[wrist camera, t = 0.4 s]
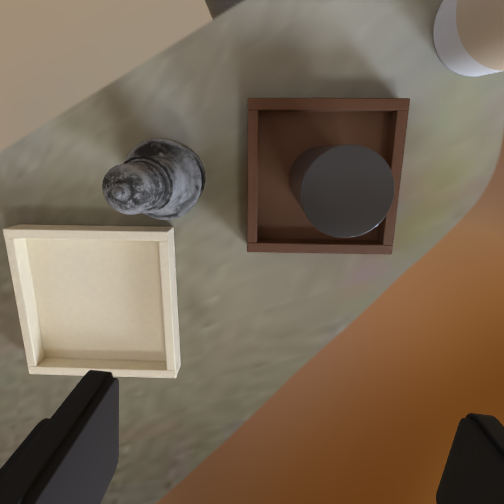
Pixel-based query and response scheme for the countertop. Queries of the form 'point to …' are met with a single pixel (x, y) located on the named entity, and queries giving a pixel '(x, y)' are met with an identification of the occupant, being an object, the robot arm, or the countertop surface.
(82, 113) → the countertop surface
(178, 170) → the marbled chess pawn
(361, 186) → the dark gray cylinder
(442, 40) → the coffee cup
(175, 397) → the countertop surface
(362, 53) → the countertop surface
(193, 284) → the countertop surface
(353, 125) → the dark tray
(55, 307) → the light tray
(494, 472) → the robot arm
